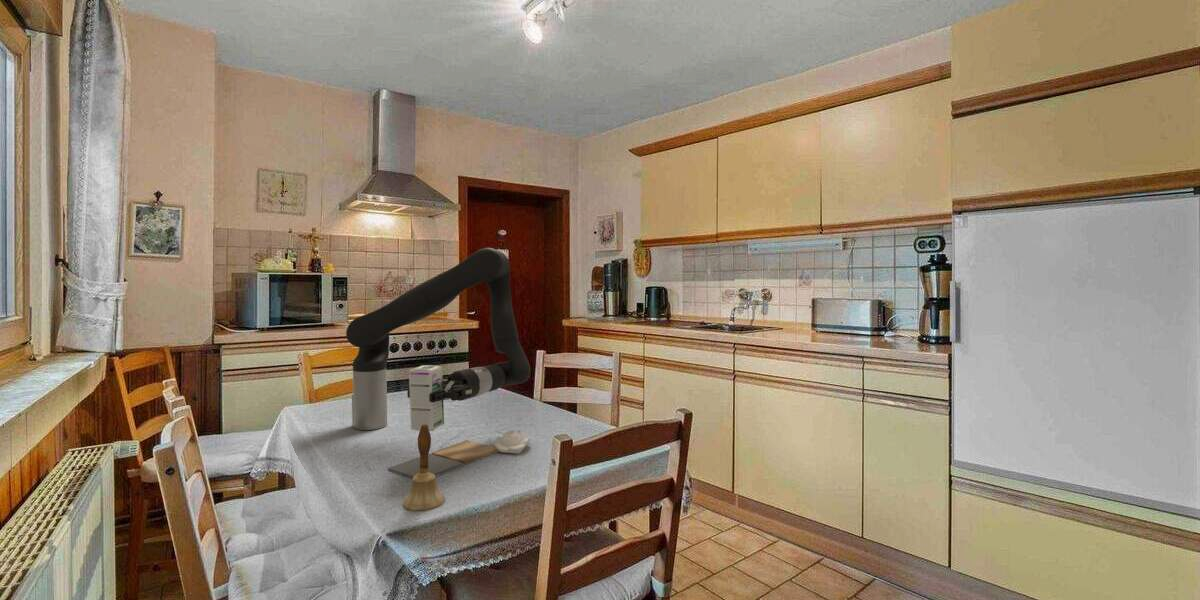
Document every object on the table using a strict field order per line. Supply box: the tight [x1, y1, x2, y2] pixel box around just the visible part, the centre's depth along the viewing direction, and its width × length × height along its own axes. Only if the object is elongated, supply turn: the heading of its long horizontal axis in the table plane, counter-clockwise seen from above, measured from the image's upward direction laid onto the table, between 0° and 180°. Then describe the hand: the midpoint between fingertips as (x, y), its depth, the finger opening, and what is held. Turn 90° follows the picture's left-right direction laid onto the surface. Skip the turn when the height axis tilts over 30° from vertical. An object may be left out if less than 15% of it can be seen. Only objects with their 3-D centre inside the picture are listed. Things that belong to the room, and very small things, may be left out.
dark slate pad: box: [387, 453, 463, 479], centre depth 132 cm, size 12×12×1 cm
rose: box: [493, 429, 532, 454], centre depth 146 cm, size 10×4×10 cm
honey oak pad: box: [431, 439, 499, 465], centre depth 143 cm, size 12×12×1 cm
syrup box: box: [408, 364, 445, 432], centre depth 132 cm, size 6×6×14 cm
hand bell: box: [402, 425, 446, 511], centre depth 113 cm, size 8×8×16 cm
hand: (419, 395), depth 130 cm, fingers closed on syrup box, 7 cm apart
